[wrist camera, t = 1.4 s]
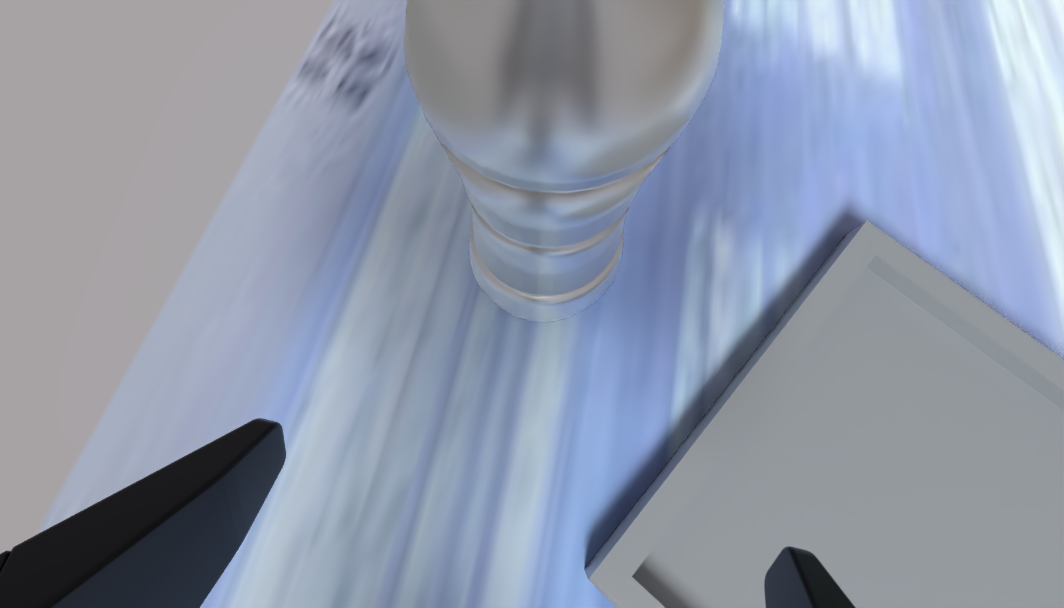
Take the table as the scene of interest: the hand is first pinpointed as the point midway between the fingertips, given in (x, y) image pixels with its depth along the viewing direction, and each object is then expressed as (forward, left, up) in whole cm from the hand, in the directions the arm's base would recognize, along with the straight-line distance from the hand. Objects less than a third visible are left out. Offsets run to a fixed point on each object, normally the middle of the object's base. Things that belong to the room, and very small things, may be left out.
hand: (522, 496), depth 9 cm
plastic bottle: (+7, +5, -14) cm, 17 cm away
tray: (+8, -14, -14) cm, 21 cm away
